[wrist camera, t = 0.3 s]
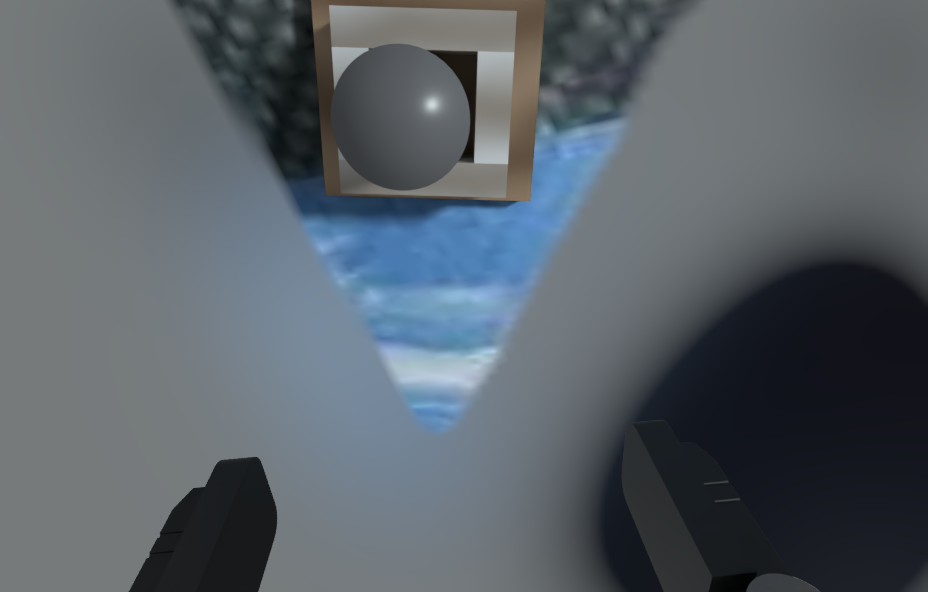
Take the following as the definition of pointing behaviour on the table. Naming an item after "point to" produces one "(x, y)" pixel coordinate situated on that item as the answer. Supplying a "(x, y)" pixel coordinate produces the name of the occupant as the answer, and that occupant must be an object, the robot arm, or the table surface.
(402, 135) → the white canister
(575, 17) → the table surface
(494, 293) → the table surface
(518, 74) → the board
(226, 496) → the robot arm
